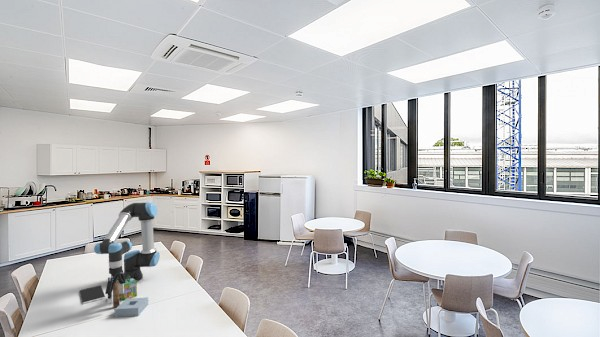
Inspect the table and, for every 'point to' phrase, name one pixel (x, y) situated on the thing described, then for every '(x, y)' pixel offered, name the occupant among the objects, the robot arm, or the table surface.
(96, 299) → the smartphone
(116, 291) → the dowel
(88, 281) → the table surface
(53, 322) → the table surface
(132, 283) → the chalk box
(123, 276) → the robot arm
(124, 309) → the socket block
